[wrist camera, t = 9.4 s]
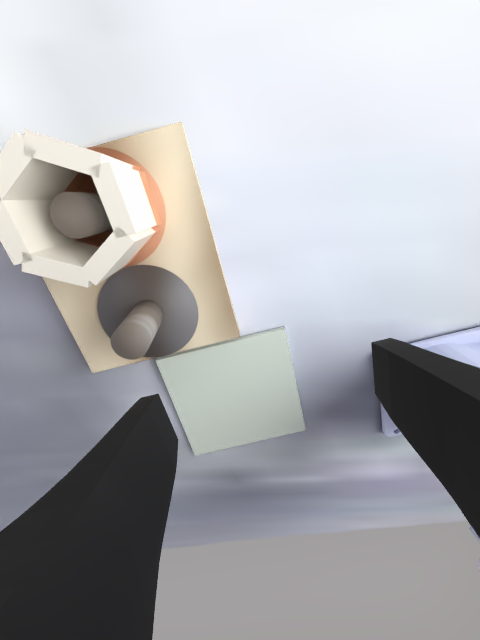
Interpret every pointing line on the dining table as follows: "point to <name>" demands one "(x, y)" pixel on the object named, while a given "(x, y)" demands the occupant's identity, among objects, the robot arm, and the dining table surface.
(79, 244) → the sleeve
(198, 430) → the mat
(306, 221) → the dining table surface
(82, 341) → the pin board
